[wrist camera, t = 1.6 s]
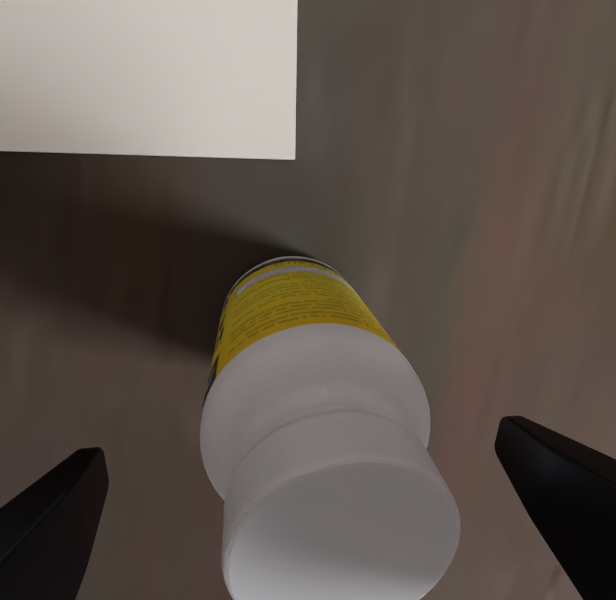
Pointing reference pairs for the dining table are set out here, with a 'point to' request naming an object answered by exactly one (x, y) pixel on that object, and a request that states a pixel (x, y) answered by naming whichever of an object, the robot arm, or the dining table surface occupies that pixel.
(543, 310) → the dining table surface
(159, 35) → the ceramic tile
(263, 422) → the supplement bottle
